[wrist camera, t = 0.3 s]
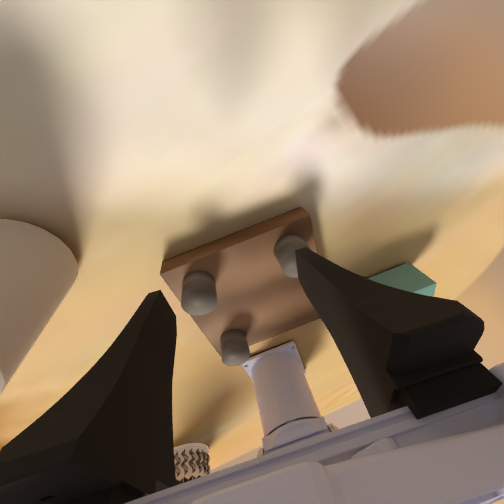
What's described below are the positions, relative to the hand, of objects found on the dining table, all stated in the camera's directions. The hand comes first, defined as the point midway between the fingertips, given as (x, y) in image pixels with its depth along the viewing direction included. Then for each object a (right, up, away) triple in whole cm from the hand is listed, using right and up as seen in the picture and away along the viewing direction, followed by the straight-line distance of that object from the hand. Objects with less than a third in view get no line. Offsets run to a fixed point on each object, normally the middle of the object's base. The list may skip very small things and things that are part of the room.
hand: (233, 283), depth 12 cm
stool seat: (+1, -2, +14) cm, 14 cm away
